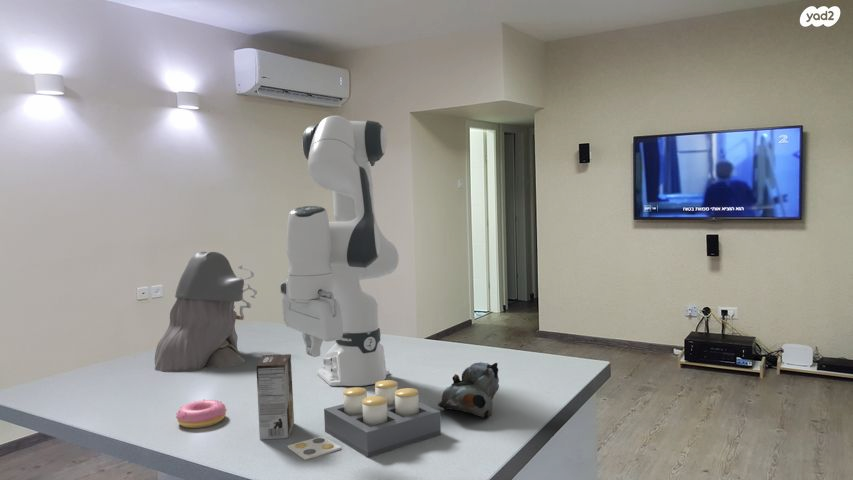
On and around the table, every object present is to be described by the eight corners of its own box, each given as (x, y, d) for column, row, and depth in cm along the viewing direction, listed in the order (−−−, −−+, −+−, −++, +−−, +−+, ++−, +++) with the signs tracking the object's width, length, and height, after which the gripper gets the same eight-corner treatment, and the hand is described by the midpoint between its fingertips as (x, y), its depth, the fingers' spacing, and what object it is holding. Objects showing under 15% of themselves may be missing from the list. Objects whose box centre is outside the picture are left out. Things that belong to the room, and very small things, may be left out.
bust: (279, 352, 207) (274, 249, 205) (193, 378, 179) (187, 258, 177) (213, 342, 225) (208, 247, 223) (126, 364, 197) (119, 256, 195)
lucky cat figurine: (433, 405, 148) (452, 351, 152) (479, 423, 149) (497, 368, 152) (443, 407, 134) (464, 347, 137) (494, 427, 134) (513, 366, 138)
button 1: (339, 413, 133) (339, 390, 133) (359, 408, 136) (359, 385, 136) (351, 419, 129) (350, 396, 129) (371, 413, 132) (370, 391, 132)
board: (324, 431, 134) (324, 408, 133) (393, 412, 144) (393, 391, 144) (367, 457, 119) (366, 432, 119) (440, 434, 130) (440, 411, 130)
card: (287, 447, 125) (287, 444, 125) (323, 437, 130) (322, 435, 130) (304, 460, 119) (304, 457, 119) (341, 449, 124) (341, 446, 124)
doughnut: (226, 426, 139) (225, 408, 139) (174, 433, 136) (173, 415, 135) (227, 411, 149) (226, 394, 149) (179, 417, 146) (178, 400, 146)
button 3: (371, 405, 138) (370, 383, 137) (390, 400, 141) (389, 378, 140) (383, 410, 134) (382, 388, 133) (402, 405, 137) (401, 383, 136)
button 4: (391, 414, 131) (390, 391, 131) (410, 409, 134) (409, 386, 134) (404, 420, 127) (403, 397, 127) (423, 415, 130) (423, 392, 130)
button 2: (358, 423, 127) (357, 399, 126) (379, 417, 129) (378, 394, 129) (371, 430, 123) (370, 405, 122) (392, 424, 125) (391, 400, 125)
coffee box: (266, 424, 139) (262, 354, 138) (294, 423, 139) (291, 353, 138) (258, 440, 130) (254, 365, 129) (289, 438, 130) (286, 363, 129)
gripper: (349, 291, 117) (352, 362, 118) (303, 281, 133) (306, 343, 134) (319, 295, 113) (322, 369, 114) (276, 284, 129) (278, 348, 130)
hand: (313, 355), depth 124 cm, fingers closed
